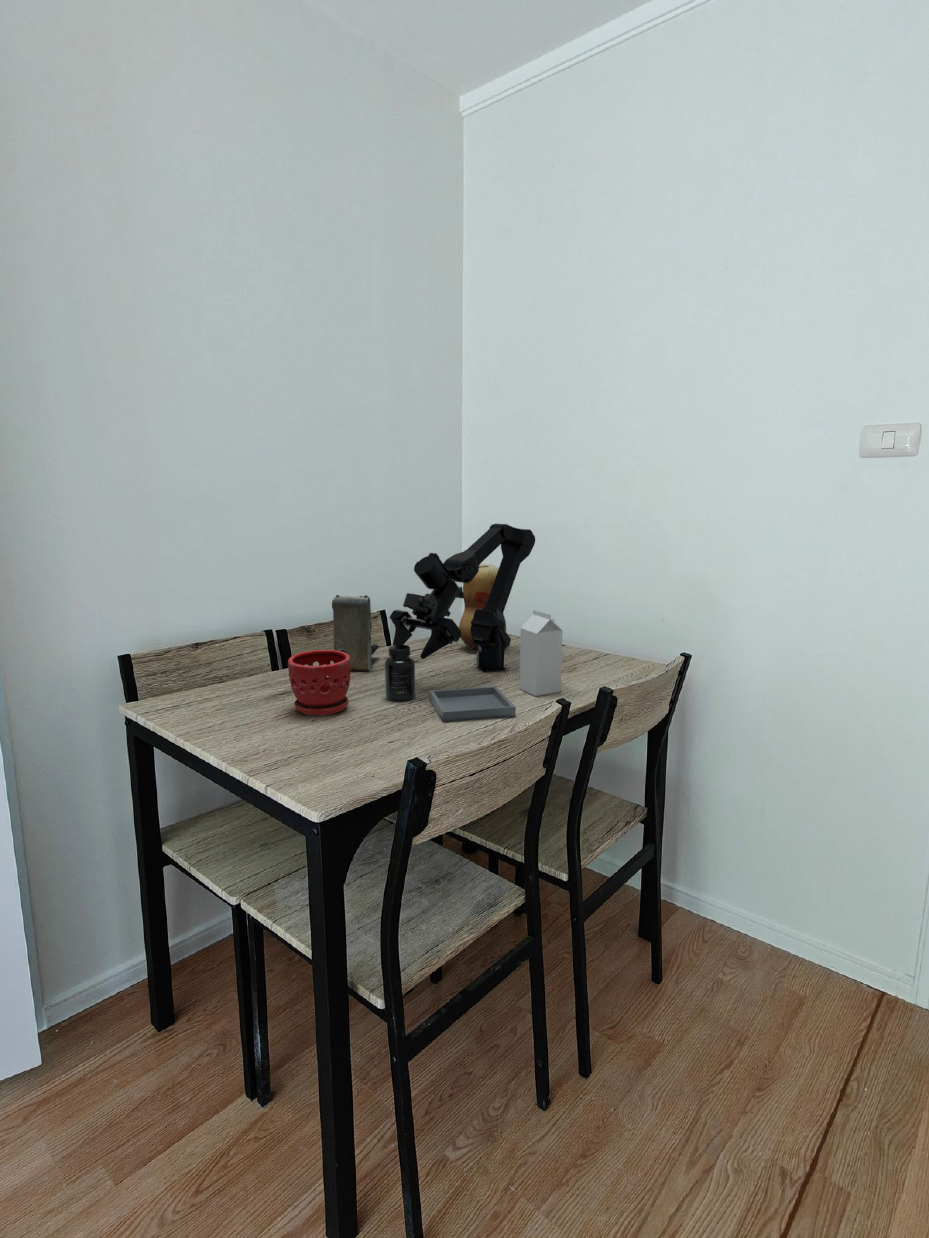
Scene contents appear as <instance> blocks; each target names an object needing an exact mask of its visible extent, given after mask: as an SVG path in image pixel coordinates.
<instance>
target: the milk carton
mask: <svg viewBox="0 0 929 1238" xmlns="http://www.w3.org/2000/svg"><path fill="white" fill-rule="evenodd" d="M519 639H520V640H519V641H520V644H519V645H520V646H519V647H520V648H519V650H520V651H519V653H520V655H519V689H520V690H521V691H524V692H526V693H528V694H530V695H532V696H534V697H538V696H545V695H552V694H557V692H558V693H561V692H560V691H562V661H563V657H562V656H563V629H562V628H560V626H558V625H557V624H556V623H555V619H554V618H553V617H552V616H551V614H550V613H546V612H542V611H539V610H536V609H533V610H532V615H531V616H530V617H529V618H528V619H527V620H526V621H525V622H524V623H523V624H522V625H521V627H520V638H519Z"/></svg>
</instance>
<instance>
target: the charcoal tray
mask: <svg viewBox="0 0 929 1238" xmlns="http://www.w3.org/2000/svg"><path fill="white" fill-rule="evenodd" d="M428 693H429V698H428V699H429V701H430V703H431V705H432V706H433V708H434V710H435V712H436V713H437V715H438V716H439V719H440V720H441V722H442V723H453V722H454V723H455V722H464V721H465V722H467V721H478V720H479V721H480V720H492V719H493V720H494V719H505V718H506V719H507V718H515V717H516V708H517V707H516V706H515V705H514V703H513V702H511V701H510V700H509V698H508V697H507V696H506V695H505V694H504V693H503V692H502V691H501V690H500V688H498V687H497V686H496V685H494V686H481V687H465V688H463V687H462V688H448V689H446V688H445V689H433V690H429V692H428Z"/></svg>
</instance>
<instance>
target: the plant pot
mask: <svg viewBox="0 0 929 1238" xmlns="http://www.w3.org/2000/svg"><path fill="white" fill-rule="evenodd" d="M315 662H317V663H318V665H314V663H315ZM331 662H332V663H331ZM287 667H288V668H287V669H288V679H289V682H290V683H289V684H290V687H291V690H292V692H293V695H294V697H295V698H296V699H295V700H294V703H293V704H294V708H295V709H296V710H297V711H298V712H299V713H301V714H303V715H309V716H317V717H320V716H321V717H322V716H329V715H332V714H337V713H340V712H341V711H343V710H344V709H345V708H346V707H347V706H348V705H349V701H350V699H349V698H348V696H346V695H347V693H348V691H349V688H350V682H351V673H352V671H351V665H350V656H349V655H348V654H347V653H344V652H341V651H336V650H334V649H317V650H314V649H313V650H307V651H303V652H299V653H296V654H294V655H292V656H290V657H289V658H288V660H287Z"/></svg>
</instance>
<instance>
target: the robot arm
mask: <svg viewBox="0 0 929 1238" xmlns="http://www.w3.org/2000/svg"><path fill="white" fill-rule="evenodd" d="M535 543H536V536H535V534H534V533H533V531H532V530H531V529H527V528H526V529H525V528H518V527H515V526H511V525H509V524H507V523H494V524H490V526H489V528H488V529H487V530H486V531H485V532H484V533H483V534H482V535H481V536H480V537H478V539H476V541H474V542H473V543H472V544H471V545H470V546H469V547H468V548H467V549H465V550H464V551H461V552H459V553H454V554H453V555H451V556H450V557H448V558H447V559H445V560H444V561H443V562H442V560H441V558H440V556H439V554H438V553H436V552H429V554H428V555H427V556H424V557H422V558H421V559H420V560H419V561H417V562H416V563H415V564H414V568H413V571H414V573H415V575H416V576H417V578H419V579H420V581H421V582H422V583H423V585H424V586H425V587H426V589H429V590H431V591H430V593H425V594H424V595H420V594H415V593H409V592H407V593H406V594H405V598H404V601H403V604H402V606H403V608H408V609H409V610H410V609H411V610H412V611H411V613H412V615H413V616H416V618H415V617H413V616H412V615H411V614H410V612H408V611H407V610H400V609H394V610H393V611H392V612H391V614H390V616H389V619H390V620H391V623H392V624H393V625H394V627H395V628H394V629H395V632H394V637H393V643H392V646H393V645H405V644H406V642H407V641H408V640H409V639H410V638H411V637H412V636H413V634H412V633H413V632H415V631H416V630H417V628H418V629H419V628H420V629H424V630H429V631H430V632H431V633H430V637H429V639H428V640H427V642H426V644H425V645H424V647H423V649H422V651H421V654H420V656H419V657H420V658H421V659H422V660H425V659H426V658H428V657H429V656H431V655H432V654H435V653H436V652H437V651H438V650H441V649H442V648H444V647H447V645H452V644H453V643H458V642H459V640H461V638H460V637H461V630H460V629H459V625H457V623H456V622H455V621H454V620H453V618H449V617H450V616H451V614H452V613H451V611H450V609H451V606H452V605H453V603H454V602H455V600H456V599H463V600H464V594H463V586H458V584H457V583H462V584H463V583H469V582H471V581H472V580H473V578H474V577H475V576H476V574H477V573H478V571H479V565H480V564H483V562H484V560H486V559H487V558H488V557H490V555H491V554H492V553H493V552H495V550H496V549H498V548H499V547H500V551H501V554H502V558H501V562H500V564H499V567H498V568H499V569H498V572H497V575H496V578H495V581H494V583H493V586H492V589H491V592H490V595H489V597H488V600H487V603H486V606H485V607H484V608H483V609H482V610H478V609H477V610H476V611H475V613H474V617H473V619H472V621H471V623H470V624H471V628H470V632H471V635H472V639H473V643H474V645H479V650H476V667H477V668H478V669H479V670H480V671H481V672H485V673H486V672H497V671H498V672H500V671H503V672H504V671H506V670H507V668H506V667H505V649H507V648H508V647H510V646H511V640H512V639H511V637H510V636H509V634H508V633H507V631H506V632H505V630H504V629H505V624H506V625H507V622H506V623H505V621H506V618H504V617H505V615H504V611H505V610H506V609H505V608H506V606H507V603H508V600H509V598H510V594H511V592H512V588H513V586H514V583H515V579H516V577H517V575H518V571H519V569H520V565H521V564H522V562H523V561H524V560H526V559H527V558H528V557H529V556H530V555H531V552H532V550H533V548H534V546H535Z"/></svg>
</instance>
